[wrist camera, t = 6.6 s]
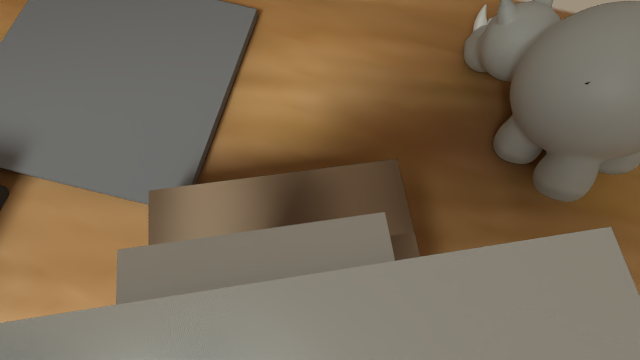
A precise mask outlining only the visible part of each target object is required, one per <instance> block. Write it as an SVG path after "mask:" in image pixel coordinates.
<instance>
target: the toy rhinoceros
mask: <svg viewBox="0 0 640 360" xmlns="http://www.w3.org/2000/svg"><path fill="white" fill-rule="evenodd" d="M552 2H553V0H533V1H530V2H522V3H518V4H514V3H513V2H512V1H511V0H501V1H500V5H499V8H498V13H497V15H495V16H494V17H493V18H490V19H489V21H487V18H486V7H487V5H486V4H485V5H484V6H483V8H482V9H481V10H480V12H479V13H478V15H477V17H476V20H475V23H474V27H473V32H472V34H471V36H470V37H468V38H467V39H466V41H465V46H464V53H463V54H464V60H465V62H466V64H467V65H468V66H469V67H470V68H471V69H472V70H474V71H477V72H488V73H489V74H490V75H492V76H493V77H495V78H497V79H499V80H502V81H512V82H511V87H510V104H511V109H512V112H513V114H512V116H511V117H510V118H509V119H508V120H507V121H506V122H505V123H504V124H503V125H502V126H501V127H500V129H499V130H498V131H497V133H496V135H495V137H494V141H493V147H494V150H495V152H496V154H497V155H498V156H499V157H500V158H502V159H504V160H506V161H508V162H512V163H517V164H526V163H530V162H532V161H533V160H535V159H536V158H537V157H538V156H539V155H540V153H541V152H542V150H543V149H544V150H545V151H546V152H547V154H546V155H545V156H544V157H543V158H542V159H541V161H540V162H539V163H538V165H537V166H536V168H535V170H534V172H533V184H534V186H535V187H536V189H537V190H538V191H539V192H540V193H541V194H543V195H545V196H547V197H549V198H552V199H555V200H558V201H565V202H571V201H576V200H578V199H580V198H582V197H583V196H584V195H585V194H586V193H587V192H588V191H589V190H590V188H591V187H592V185H593V184H594V182H595V180H596V177H597V174H598V172H600V173H605V174H614V175H616V174H624V173H627V172H630V171H632V170H633V169H635V168H636V167H637V166H639V165H640V1H621V2H612V3H606V4H601V5H597V6H594V7H591V8H588V9H585V10H582V11H580V12H577V13H575V14H573V15H571V16H569V17H567V18H565V19H563V20H561V19H560V17H559V15H558V14H557V13H556V12H555V11H554V10H553V9H552Z"/></svg>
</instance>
